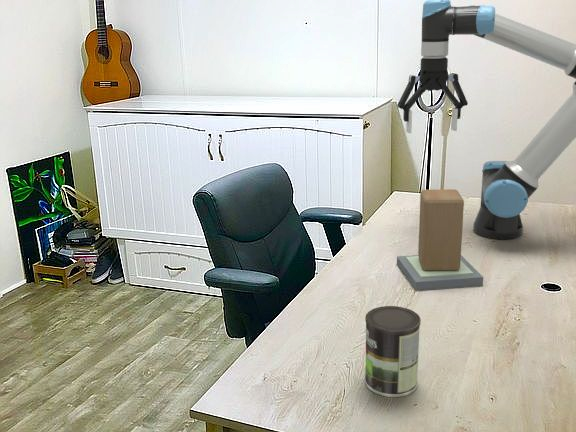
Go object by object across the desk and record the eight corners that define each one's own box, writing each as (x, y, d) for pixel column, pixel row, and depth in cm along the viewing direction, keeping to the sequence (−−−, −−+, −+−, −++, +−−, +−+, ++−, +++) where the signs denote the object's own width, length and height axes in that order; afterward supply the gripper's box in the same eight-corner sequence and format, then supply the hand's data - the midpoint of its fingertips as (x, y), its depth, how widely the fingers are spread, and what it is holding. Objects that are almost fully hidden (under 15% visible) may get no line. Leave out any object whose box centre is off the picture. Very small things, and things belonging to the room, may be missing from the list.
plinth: (457, 260, 181) (458, 250, 180) (482, 285, 164) (483, 275, 163) (396, 264, 180) (396, 254, 179) (415, 290, 163) (415, 280, 162)
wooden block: (454, 257, 175) (457, 188, 169) (460, 271, 166) (464, 199, 160) (417, 257, 176) (420, 188, 170) (422, 271, 167) (424, 199, 160)
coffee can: (370, 399, 118) (371, 332, 114) (360, 370, 128) (360, 307, 123) (424, 395, 119) (427, 328, 114) (410, 366, 128) (412, 303, 124)
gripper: (471, 54, 183) (467, 127, 190) (387, 57, 181) (386, 131, 188) (482, 56, 176) (477, 131, 183) (394, 59, 174) (393, 135, 181)
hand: (431, 131), depth 185 cm, fingers open, 13 cm apart
